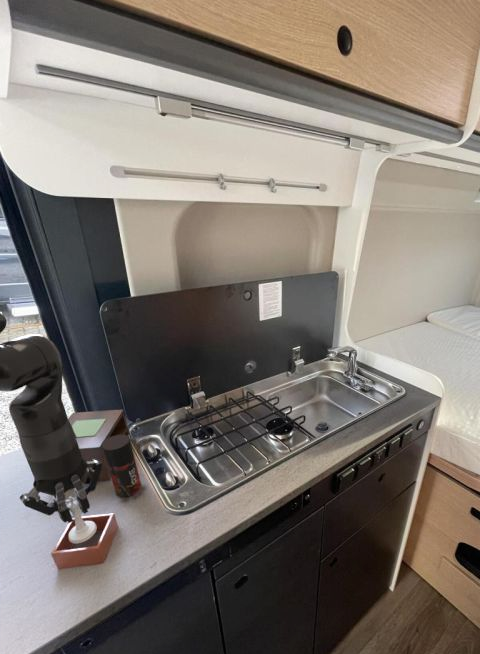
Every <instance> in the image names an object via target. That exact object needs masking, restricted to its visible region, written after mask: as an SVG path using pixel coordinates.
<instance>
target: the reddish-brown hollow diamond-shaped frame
mask: <svg viewBox="0 0 480 654" xmlns="http://www.w3.org/2000/svg"><path fill="white" fill-rule="evenodd" d="M80 516H81V515H80ZM81 518H82V519H83V521H93V522H94V523H95V524H96V526H97V530H96V532H95V533H97V532H102V533H101V535H100V538H99V539H98V542H97V545H94V546H87V547H77V548H73V546H74V545H75V543H72V542H70V541H69V532H70V531H71V529H72V528H73V527H74V526H76V525H75V519H74V518H72V519H73V521H72V522H70V523H68V522H67V523H68V524H67V526H66V527H65V529H64V531H63V532H62V533H61V535H60V538H59V539H58V541H57V542H56V544H55V546H54V548H53V549H52V551H51V552H50V556H51V558H52V559H53V562H54V565H55V566H56V568H57V570H60V569H68V568H76V567H83V566H85V567H86V566H90V565H91V566H92V565H93V566H94V565H99V564H105V561H106V559H107V556H108V554H109V551H110V549H111V546H112V544H113V542H114V539H115V537H116V534H117V532H118V529H119V524H118V521H117V519H116V515H115V512H112V513H102V514H91V515H83V516H81Z"/></svg>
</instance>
